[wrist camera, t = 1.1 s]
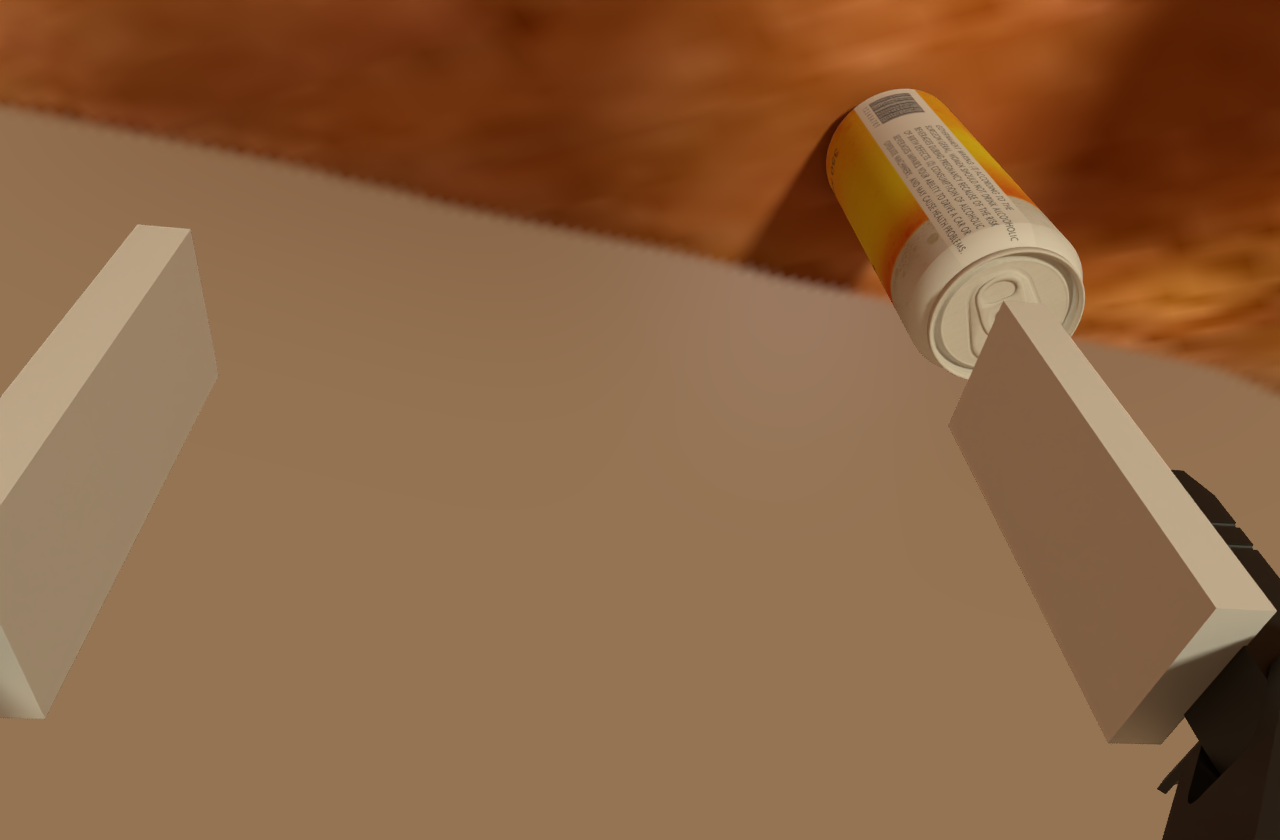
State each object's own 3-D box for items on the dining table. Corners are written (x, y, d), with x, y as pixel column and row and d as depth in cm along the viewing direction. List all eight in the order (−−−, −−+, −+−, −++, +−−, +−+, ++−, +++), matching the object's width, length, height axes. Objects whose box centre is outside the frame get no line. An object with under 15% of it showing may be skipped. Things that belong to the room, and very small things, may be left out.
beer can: (842, 226, 45) (937, 413, 34) (806, 116, 42) (899, 283, 30) (963, 177, 44) (1106, 353, 32) (936, 59, 41) (1086, 209, 29)
